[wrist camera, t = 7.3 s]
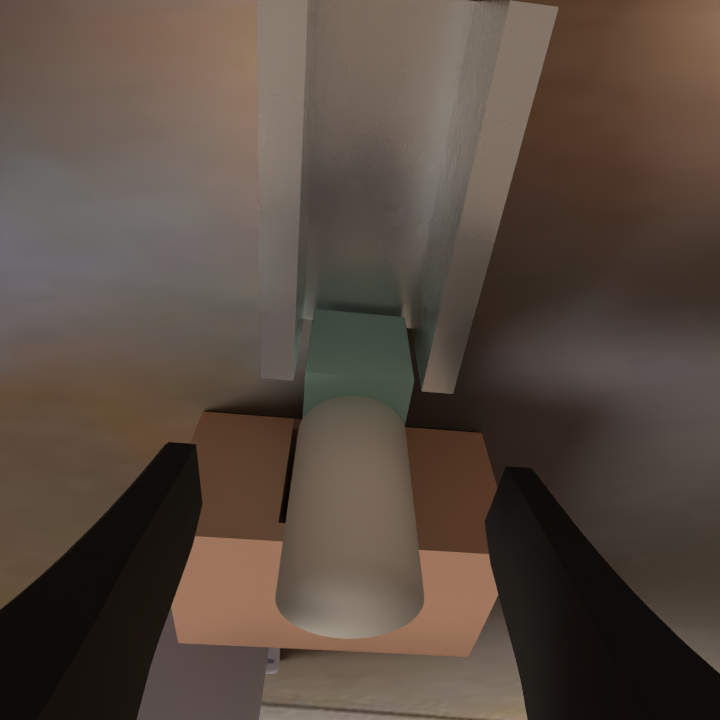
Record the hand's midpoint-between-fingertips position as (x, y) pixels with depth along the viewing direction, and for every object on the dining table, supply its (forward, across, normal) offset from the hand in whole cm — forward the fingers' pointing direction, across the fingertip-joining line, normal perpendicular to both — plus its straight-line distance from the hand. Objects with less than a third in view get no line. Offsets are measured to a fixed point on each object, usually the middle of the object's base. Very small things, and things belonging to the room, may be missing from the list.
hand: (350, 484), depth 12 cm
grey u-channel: (+5, 0, -6) cm, 8 cm away
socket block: (+5, 0, +6) cm, 8 cm away
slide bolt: (+5, 0, +2) cm, 6 cm away
